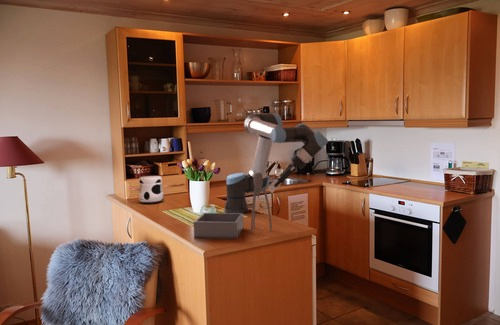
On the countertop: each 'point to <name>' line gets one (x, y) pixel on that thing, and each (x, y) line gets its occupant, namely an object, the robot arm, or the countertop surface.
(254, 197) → the citrus juicer
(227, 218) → the gray open bin
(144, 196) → the milk container
